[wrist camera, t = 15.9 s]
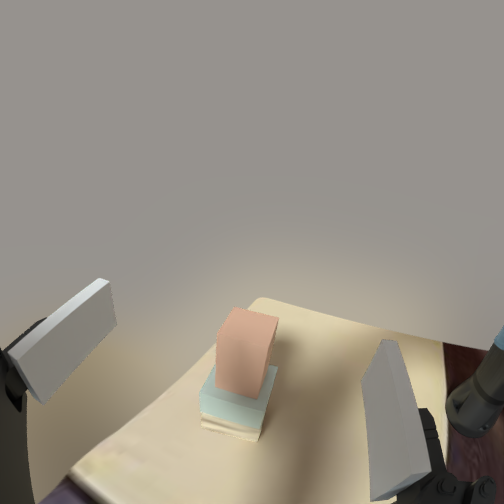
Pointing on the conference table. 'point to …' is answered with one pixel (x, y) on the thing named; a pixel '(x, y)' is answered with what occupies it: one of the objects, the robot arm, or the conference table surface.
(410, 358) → the conference table surface
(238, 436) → the tower base block
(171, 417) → the conference table surface
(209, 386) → the tower upper block
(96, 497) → the conference table surface
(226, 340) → the tall block
